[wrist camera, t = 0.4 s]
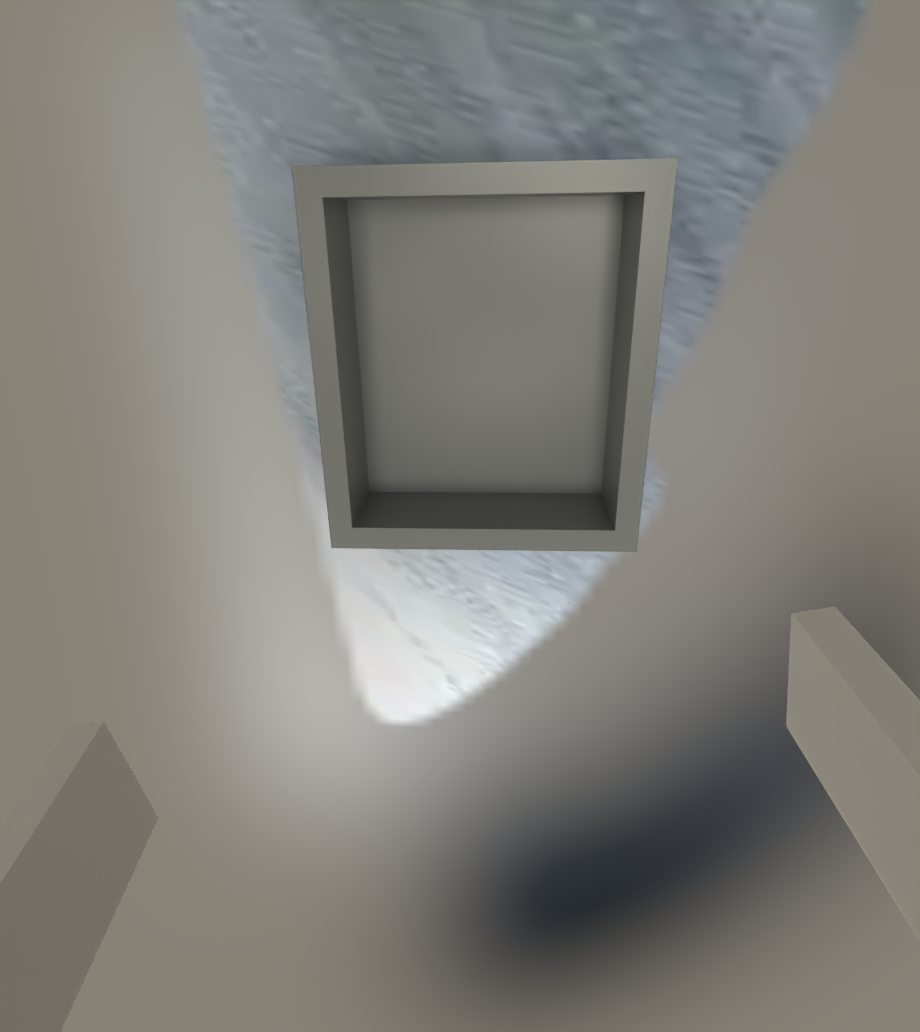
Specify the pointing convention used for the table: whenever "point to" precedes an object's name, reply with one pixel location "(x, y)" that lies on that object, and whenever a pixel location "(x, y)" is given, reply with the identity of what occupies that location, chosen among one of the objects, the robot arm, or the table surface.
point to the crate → (485, 348)
